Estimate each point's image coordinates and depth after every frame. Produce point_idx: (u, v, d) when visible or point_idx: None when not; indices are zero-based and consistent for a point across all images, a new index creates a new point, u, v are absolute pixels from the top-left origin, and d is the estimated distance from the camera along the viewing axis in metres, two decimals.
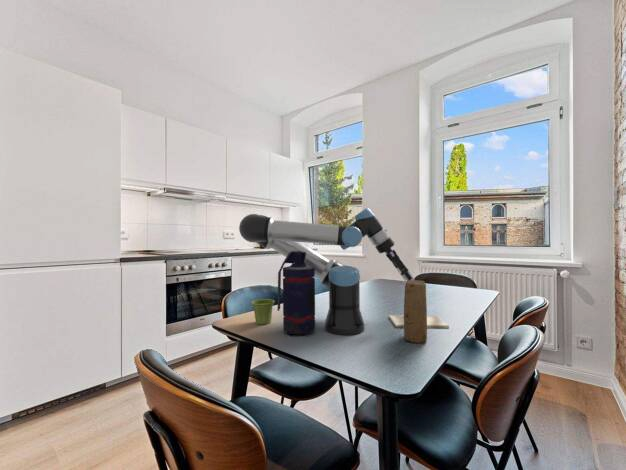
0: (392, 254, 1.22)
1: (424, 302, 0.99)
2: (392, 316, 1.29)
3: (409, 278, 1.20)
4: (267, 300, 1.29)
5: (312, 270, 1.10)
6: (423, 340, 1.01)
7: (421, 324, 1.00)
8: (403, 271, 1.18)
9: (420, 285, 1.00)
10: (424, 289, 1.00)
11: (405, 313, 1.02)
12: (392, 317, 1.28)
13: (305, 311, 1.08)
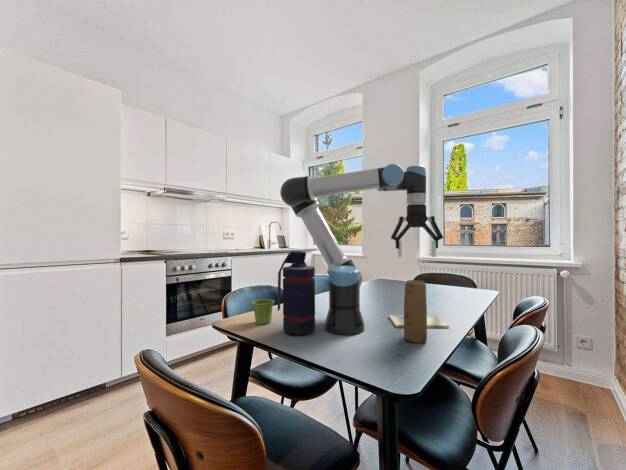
0: (399, 219, 1.24)
1: (424, 302, 1.00)
2: (392, 316, 1.29)
3: None
4: (267, 300, 1.29)
5: (312, 270, 1.10)
6: (423, 340, 1.01)
7: (421, 324, 1.00)
8: (391, 237, 1.25)
9: (420, 285, 1.00)
10: (424, 289, 1.00)
11: (405, 313, 1.02)
12: (392, 317, 1.28)
13: (305, 311, 1.08)
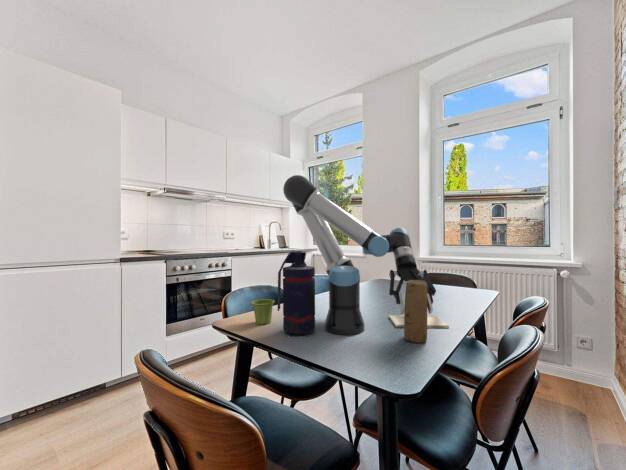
0: (390, 274, 1.15)
1: (425, 302, 0.99)
2: (392, 316, 1.29)
3: (396, 301, 1.07)
4: (267, 300, 1.29)
5: (312, 270, 1.10)
6: (423, 340, 1.01)
7: (421, 324, 1.00)
8: (389, 292, 1.10)
9: (421, 285, 1.00)
10: (425, 289, 1.00)
11: (406, 313, 1.02)
12: (392, 317, 1.28)
13: (305, 311, 1.08)
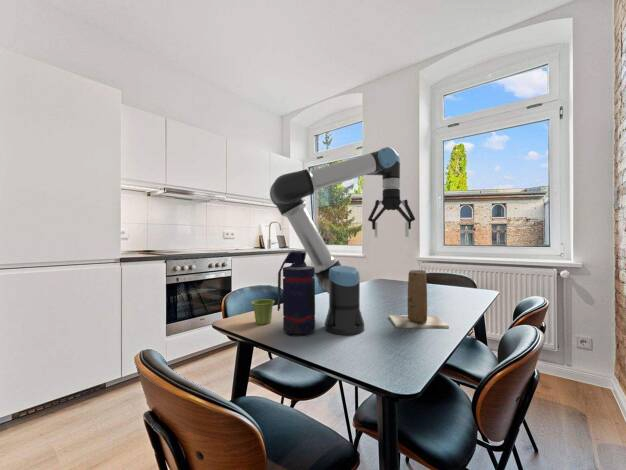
0: (375, 202, 1.35)
1: (425, 288, 1.18)
2: (392, 316, 1.29)
3: (372, 227, 1.36)
4: (267, 300, 1.29)
5: (312, 270, 1.10)
6: (424, 320, 1.19)
7: (422, 307, 1.18)
8: (368, 219, 1.36)
9: (421, 274, 1.19)
10: (425, 277, 1.19)
11: (409, 297, 1.20)
12: (392, 317, 1.28)
13: (305, 311, 1.08)
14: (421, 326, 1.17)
